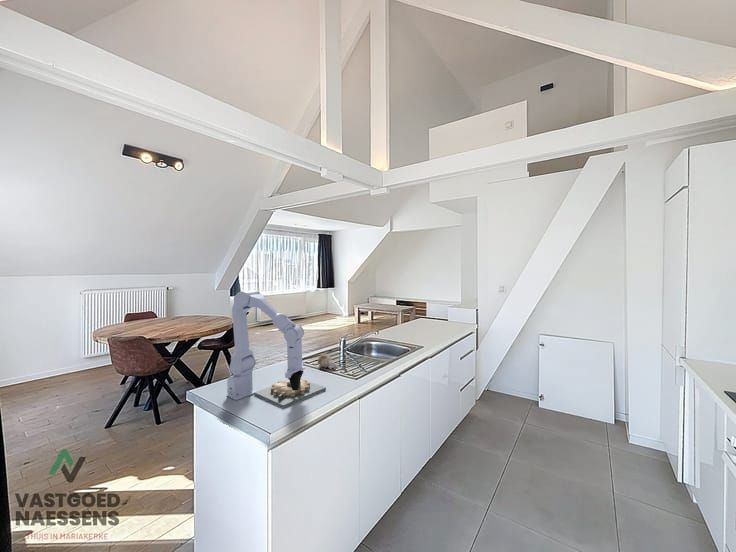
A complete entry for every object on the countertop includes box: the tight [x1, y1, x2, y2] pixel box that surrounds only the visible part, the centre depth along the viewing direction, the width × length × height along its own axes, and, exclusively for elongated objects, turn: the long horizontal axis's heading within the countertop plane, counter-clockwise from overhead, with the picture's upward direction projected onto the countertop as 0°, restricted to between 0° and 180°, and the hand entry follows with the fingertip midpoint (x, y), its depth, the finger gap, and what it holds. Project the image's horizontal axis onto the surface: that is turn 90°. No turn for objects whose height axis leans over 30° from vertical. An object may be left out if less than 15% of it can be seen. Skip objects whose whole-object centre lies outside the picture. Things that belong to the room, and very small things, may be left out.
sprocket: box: [271, 378, 311, 397], centre depth 131 cm, size 16×16×5 cm
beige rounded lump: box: [317, 352, 338, 370], centre depth 165 cm, size 8×10×10 cm
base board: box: [253, 378, 327, 409], centre depth 131 cm, size 22×20×3 cm
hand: (295, 389), depth 124 cm, fingers closed
